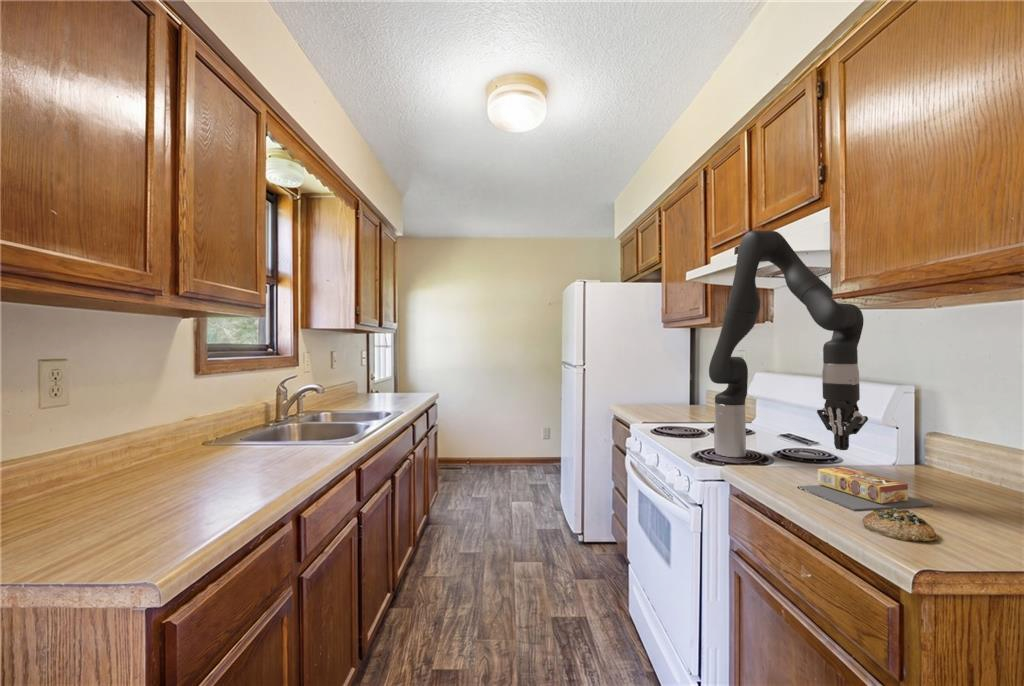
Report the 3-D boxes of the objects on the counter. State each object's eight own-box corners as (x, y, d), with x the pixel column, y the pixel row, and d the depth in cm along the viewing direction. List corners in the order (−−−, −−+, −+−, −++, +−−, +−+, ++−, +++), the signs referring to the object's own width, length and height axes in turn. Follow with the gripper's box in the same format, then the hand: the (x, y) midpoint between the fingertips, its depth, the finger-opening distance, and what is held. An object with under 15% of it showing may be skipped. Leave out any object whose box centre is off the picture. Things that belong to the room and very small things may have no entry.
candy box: (816, 484, 113) (880, 505, 98) (816, 468, 113) (880, 486, 98) (842, 481, 115) (908, 501, 100) (842, 465, 115) (908, 483, 100)
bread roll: (893, 518, 91) (895, 495, 91) (953, 548, 81) (956, 523, 80) (847, 523, 90) (848, 500, 89) (901, 555, 79) (903, 529, 78)
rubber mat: (797, 487, 111) (797, 486, 111) (866, 484, 114) (866, 482, 114) (853, 510, 95) (853, 509, 95) (932, 506, 98) (932, 504, 98)
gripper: (806, 379, 116) (807, 444, 116) (850, 383, 103) (852, 456, 103) (831, 379, 117) (832, 443, 117) (878, 383, 104) (879, 455, 104)
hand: (841, 449), depth 110 cm, fingers closed
